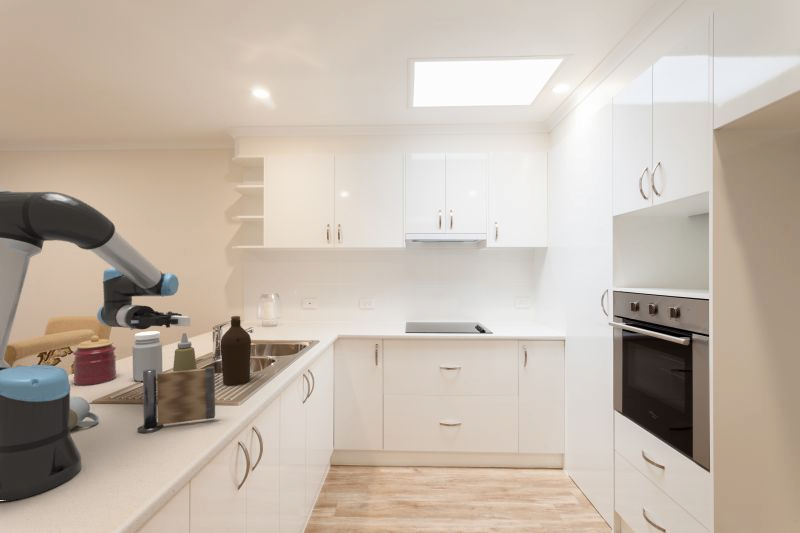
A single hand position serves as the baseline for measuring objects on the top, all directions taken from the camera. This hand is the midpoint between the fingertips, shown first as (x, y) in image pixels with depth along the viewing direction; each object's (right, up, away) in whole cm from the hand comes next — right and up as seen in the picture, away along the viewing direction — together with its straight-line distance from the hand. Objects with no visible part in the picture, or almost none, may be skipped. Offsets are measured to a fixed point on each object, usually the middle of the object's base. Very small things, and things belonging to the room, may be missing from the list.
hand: (188, 321), depth 112 cm
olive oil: (+1, -28, +31) cm, 42 cm away
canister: (-55, -28, +35) cm, 71 cm away
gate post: (-6, -28, -8) cm, 30 cm away
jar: (-36, -28, +37) cm, 59 cm away
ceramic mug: (-28, -29, -7) cm, 41 cm away
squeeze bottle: (-21, -28, +35) cm, 49 cm away
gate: (+3, -27, -6) cm, 28 cm away
